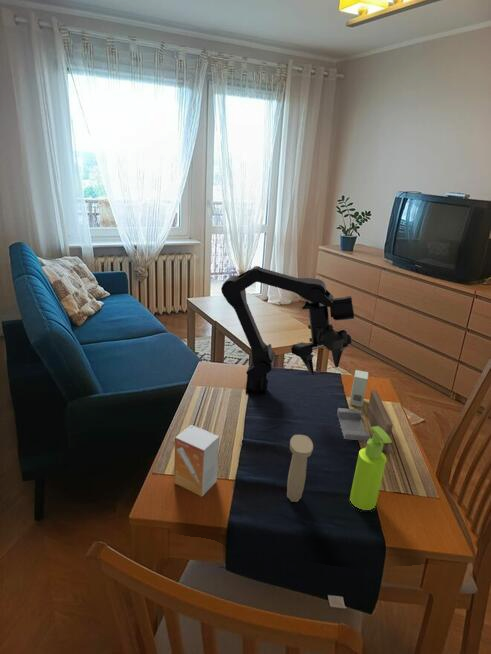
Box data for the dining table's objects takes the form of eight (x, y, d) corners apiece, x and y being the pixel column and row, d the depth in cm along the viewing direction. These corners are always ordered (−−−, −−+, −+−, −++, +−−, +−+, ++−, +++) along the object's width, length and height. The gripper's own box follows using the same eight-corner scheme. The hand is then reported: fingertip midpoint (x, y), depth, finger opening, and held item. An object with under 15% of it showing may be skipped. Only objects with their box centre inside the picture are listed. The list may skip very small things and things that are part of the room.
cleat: (344, 439, 123) (345, 433, 123) (337, 413, 136) (338, 407, 135) (369, 442, 123) (370, 436, 123) (359, 415, 136) (360, 409, 135)
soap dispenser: (359, 517, 97) (376, 442, 90) (344, 495, 103) (359, 422, 96) (383, 513, 99) (401, 438, 91) (367, 491, 105) (382, 420, 97)
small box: (173, 483, 102) (174, 437, 98) (189, 468, 108) (191, 423, 103) (201, 498, 99) (204, 450, 94) (217, 481, 104) (220, 435, 99)
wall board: (380, 452, 119) (386, 424, 116) (366, 415, 136) (371, 390, 133) (392, 453, 119) (398, 425, 116) (376, 416, 136) (382, 391, 133)
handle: (302, 488, 104) (311, 435, 99) (305, 509, 98) (314, 453, 93) (282, 487, 104) (289, 433, 98) (284, 507, 98) (291, 452, 93)
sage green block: (349, 405, 141) (354, 377, 137) (350, 396, 146) (355, 369, 143) (362, 408, 140) (367, 380, 136) (362, 399, 145) (368, 372, 142)
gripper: (308, 332, 122) (314, 385, 125) (361, 318, 130) (365, 369, 133) (287, 326, 132) (293, 376, 135) (338, 314, 140) (342, 361, 143)
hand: (324, 370), depth 136 cm, fingers open, 9 cm apart
